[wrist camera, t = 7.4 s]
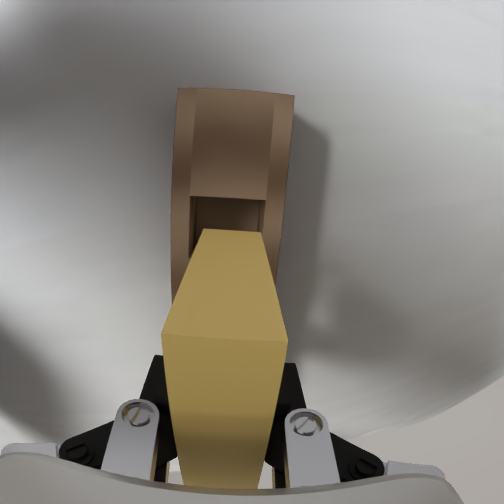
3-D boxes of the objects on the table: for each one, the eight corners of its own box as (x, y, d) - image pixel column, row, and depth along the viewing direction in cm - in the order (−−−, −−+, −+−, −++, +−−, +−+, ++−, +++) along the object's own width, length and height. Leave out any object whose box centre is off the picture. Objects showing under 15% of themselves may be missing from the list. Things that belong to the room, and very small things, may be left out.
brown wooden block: (189, 99, 17) (178, 87, 14) (282, 105, 18) (294, 95, 14) (185, 377, 25) (180, 410, 21) (254, 381, 25) (257, 414, 21)
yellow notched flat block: (203, 228, 13) (161, 333, 6) (260, 232, 13) (288, 341, 6) (202, 383, 16) (188, 506, 9) (246, 385, 16) (251, 509, 9)
